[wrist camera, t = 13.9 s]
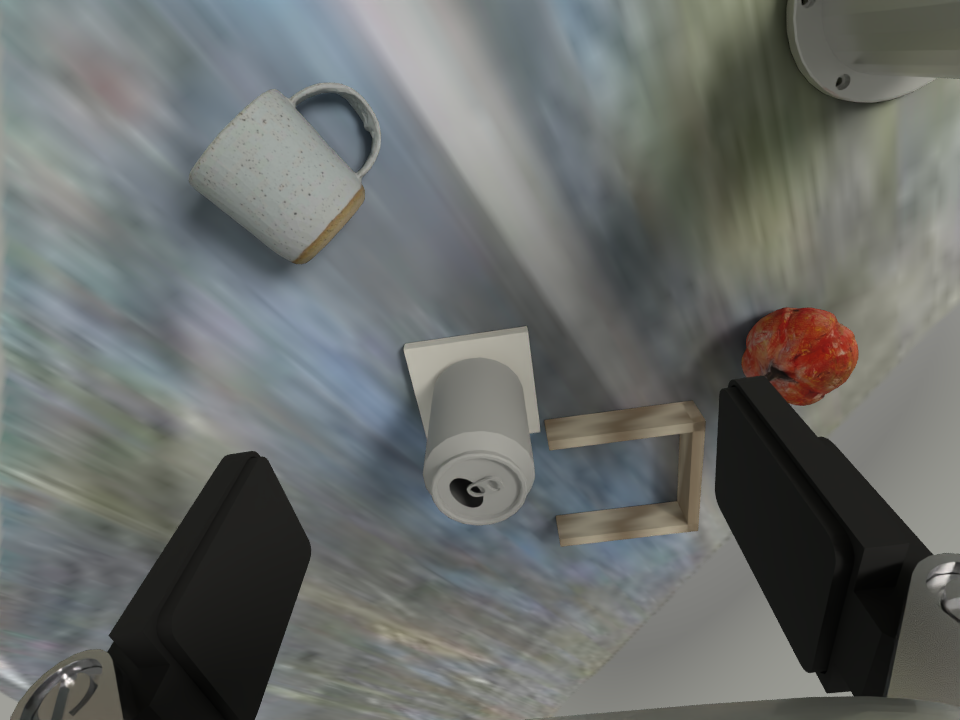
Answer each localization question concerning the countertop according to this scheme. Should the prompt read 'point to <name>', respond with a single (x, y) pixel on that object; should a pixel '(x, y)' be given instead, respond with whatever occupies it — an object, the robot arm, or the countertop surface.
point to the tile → (442, 353)
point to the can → (478, 443)
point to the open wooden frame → (631, 427)
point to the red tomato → (800, 353)
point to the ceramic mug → (285, 173)
